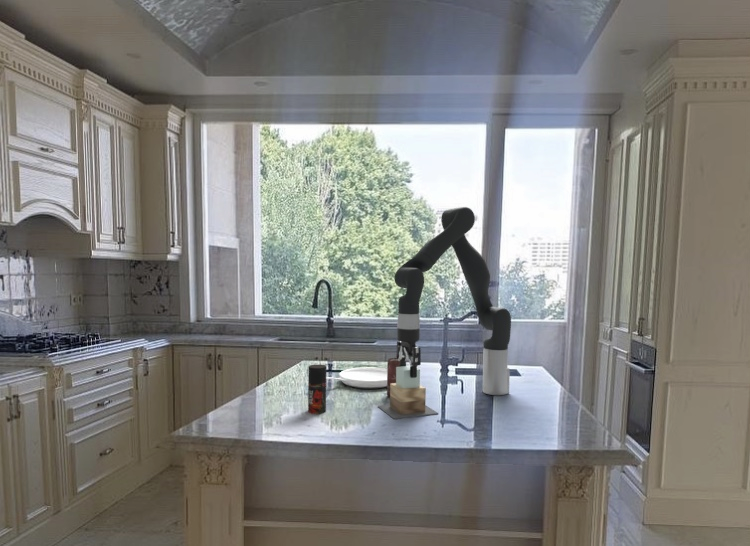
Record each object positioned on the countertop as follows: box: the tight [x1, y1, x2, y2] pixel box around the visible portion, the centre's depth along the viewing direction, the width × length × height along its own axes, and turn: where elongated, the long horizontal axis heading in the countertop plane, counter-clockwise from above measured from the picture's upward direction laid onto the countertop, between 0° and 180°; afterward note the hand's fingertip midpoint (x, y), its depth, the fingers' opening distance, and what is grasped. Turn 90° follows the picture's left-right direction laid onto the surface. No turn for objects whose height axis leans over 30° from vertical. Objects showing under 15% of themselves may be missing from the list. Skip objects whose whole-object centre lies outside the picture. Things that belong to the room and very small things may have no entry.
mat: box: [377, 404, 439, 420], centre depth 161 cm, size 16×14×1 cm
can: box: [386, 357, 400, 399], centre depth 178 cm, size 6×6×14 cm
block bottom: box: [389, 395, 427, 415], centre depth 161 cm, size 9×9×4 cm
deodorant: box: [307, 364, 327, 415], centre depth 159 cm, size 6×6×15 cm
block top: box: [390, 383, 427, 402], centre depth 161 cm, size 9×9×4 cm
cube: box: [396, 365, 421, 389], centre depth 161 cm, size 6×6×6 cm
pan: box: [326, 366, 387, 390], centre depth 195 cm, size 25×38×5 cm, turn 124°
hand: (407, 374), depth 161 cm, fingers open, 8 cm apart
